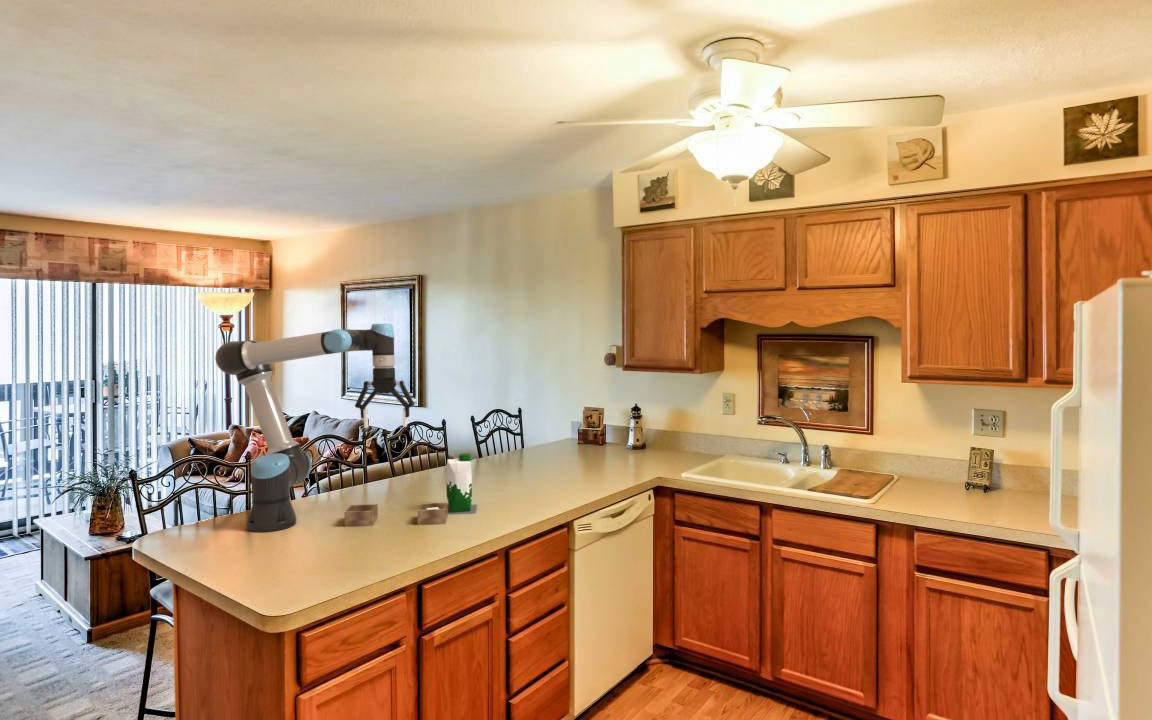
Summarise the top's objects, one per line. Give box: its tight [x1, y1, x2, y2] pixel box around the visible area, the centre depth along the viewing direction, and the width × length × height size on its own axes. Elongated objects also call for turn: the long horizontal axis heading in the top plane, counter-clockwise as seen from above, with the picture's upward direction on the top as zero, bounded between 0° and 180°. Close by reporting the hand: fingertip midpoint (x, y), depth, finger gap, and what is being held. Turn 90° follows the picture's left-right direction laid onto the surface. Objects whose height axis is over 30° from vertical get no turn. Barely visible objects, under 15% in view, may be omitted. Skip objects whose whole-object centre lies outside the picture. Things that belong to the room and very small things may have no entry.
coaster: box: [448, 504, 478, 516], centre depth 238 cm, size 12×12×1 cm
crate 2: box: [417, 502, 449, 526], centre depth 224 cm, size 9×9×6 cm
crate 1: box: [343, 503, 379, 528], centre depth 222 cm, size 9×9×6 cm
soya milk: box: [445, 453, 473, 513], centre depth 237 cm, size 9×9×20 cm
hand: (385, 427), depth 232 cm, fingers open, 13 cm apart
